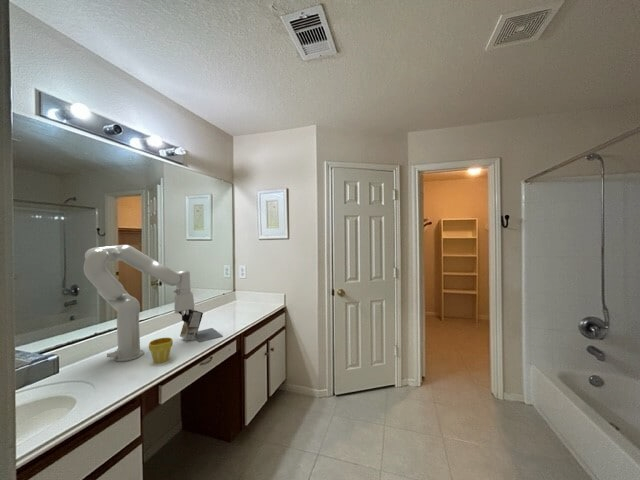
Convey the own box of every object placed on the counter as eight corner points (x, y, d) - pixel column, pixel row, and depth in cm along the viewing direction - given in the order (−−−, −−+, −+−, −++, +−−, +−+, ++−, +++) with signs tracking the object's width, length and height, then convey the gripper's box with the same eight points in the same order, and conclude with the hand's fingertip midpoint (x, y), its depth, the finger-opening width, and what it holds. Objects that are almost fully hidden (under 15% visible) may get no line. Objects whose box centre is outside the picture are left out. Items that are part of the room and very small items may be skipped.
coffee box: (195, 340, 162) (203, 312, 166) (185, 339, 158) (193, 311, 161) (189, 336, 169) (197, 310, 172) (179, 336, 164) (187, 309, 168)
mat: (199, 342, 158) (199, 341, 158) (190, 333, 173) (189, 333, 173) (222, 336, 167) (222, 335, 167) (212, 328, 182) (212, 327, 182)
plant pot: (177, 358, 138) (176, 339, 138) (156, 366, 129) (156, 346, 129) (165, 354, 143) (165, 335, 143) (145, 362, 134) (144, 342, 134)
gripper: (171, 294, 154) (172, 325, 155) (198, 289, 164) (199, 319, 164) (168, 292, 160) (169, 322, 161) (195, 288, 170) (196, 317, 170)
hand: (185, 321), depth 162 cm, fingers closed
